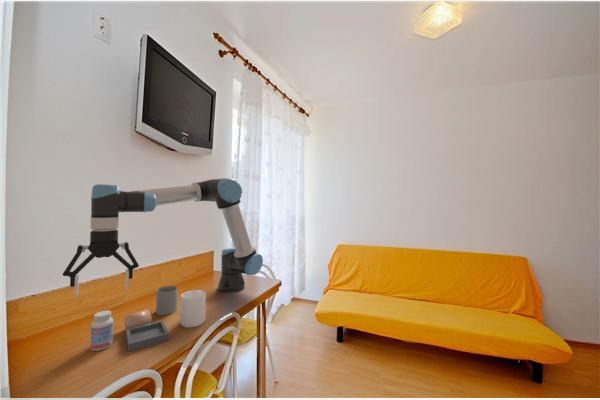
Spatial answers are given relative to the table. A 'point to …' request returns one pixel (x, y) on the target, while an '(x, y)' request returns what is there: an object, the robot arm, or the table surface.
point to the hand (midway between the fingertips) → (102, 292)
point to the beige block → (138, 319)
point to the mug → (192, 308)
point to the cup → (166, 300)
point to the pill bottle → (101, 331)
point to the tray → (146, 335)
